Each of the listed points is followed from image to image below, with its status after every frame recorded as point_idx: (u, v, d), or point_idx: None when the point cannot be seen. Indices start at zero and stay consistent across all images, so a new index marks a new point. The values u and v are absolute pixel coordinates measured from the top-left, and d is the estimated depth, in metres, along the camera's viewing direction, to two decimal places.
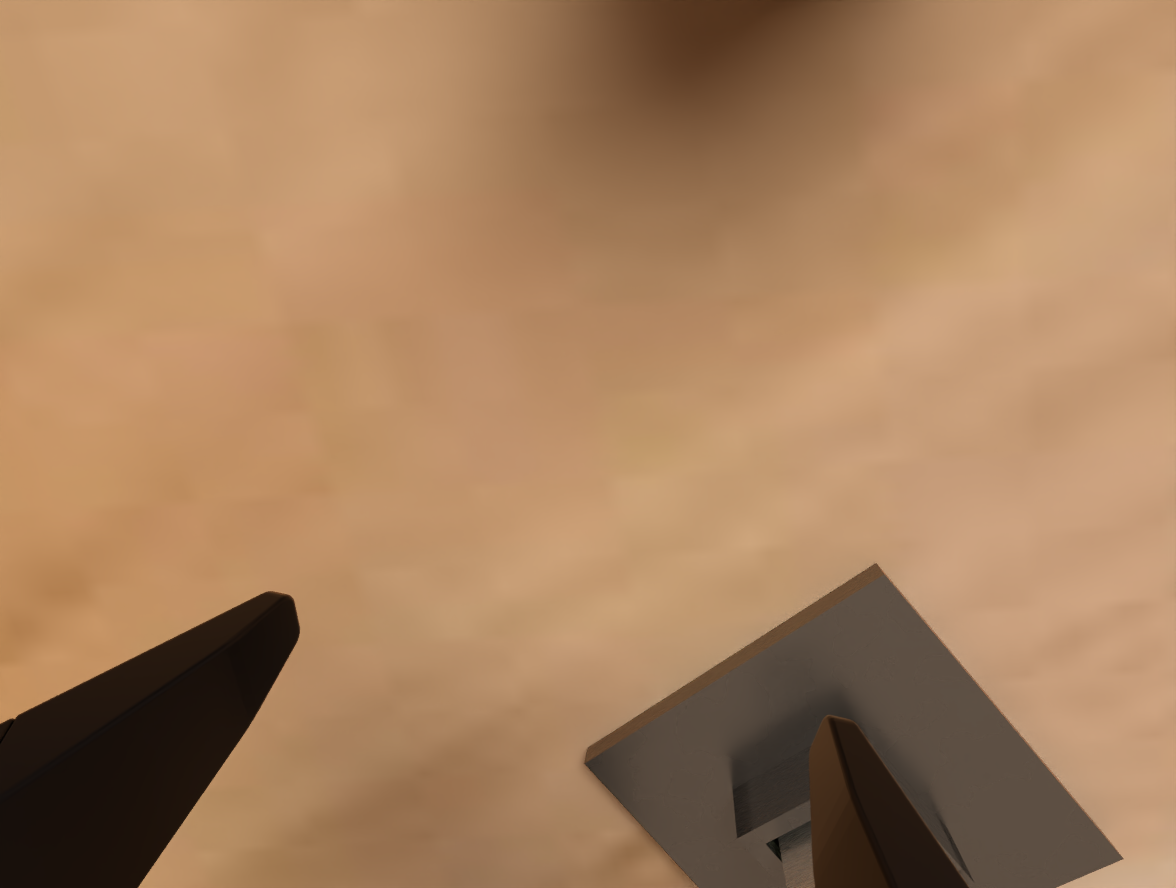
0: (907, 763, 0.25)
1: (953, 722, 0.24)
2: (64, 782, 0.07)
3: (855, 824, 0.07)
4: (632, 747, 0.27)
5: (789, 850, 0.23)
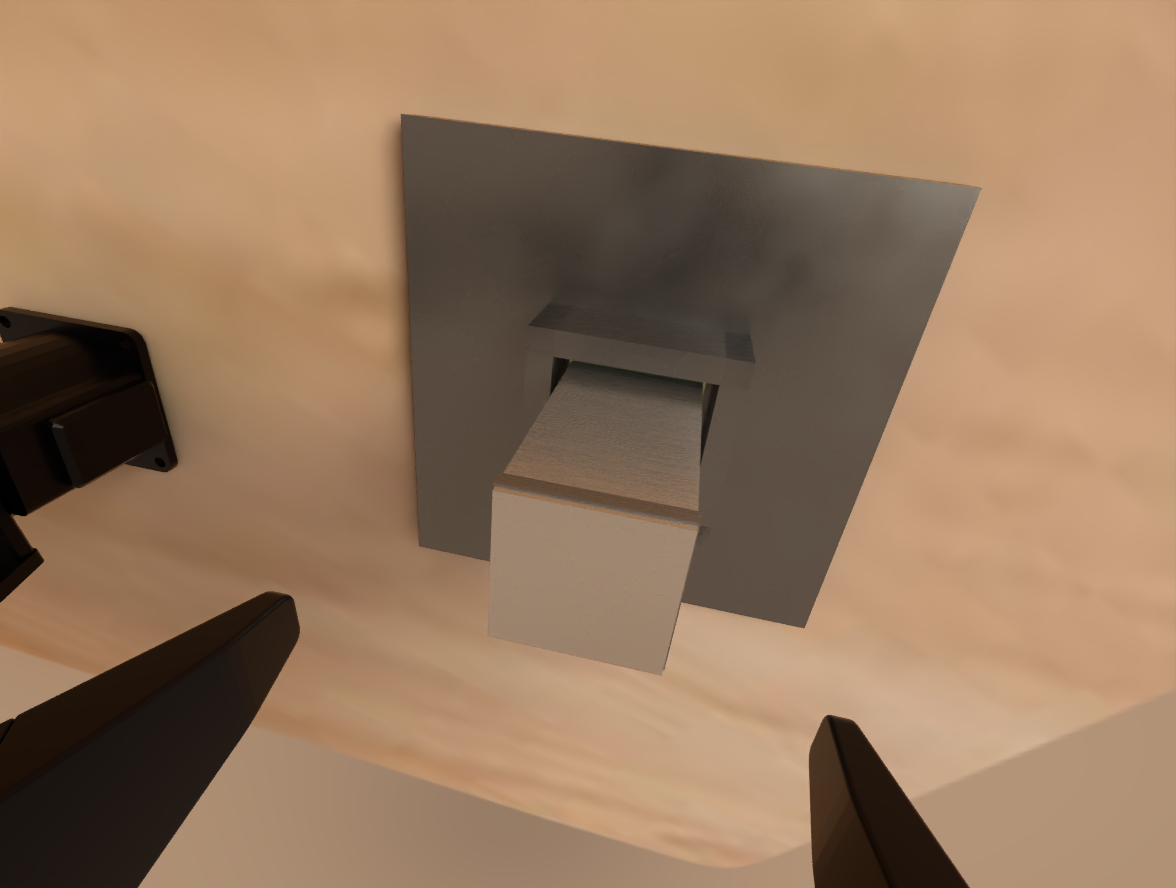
0: (745, 420, 0.19)
1: (831, 416, 0.19)
2: (64, 781, 0.07)
3: (855, 824, 0.07)
4: (482, 146, 0.17)
5: (576, 378, 0.17)
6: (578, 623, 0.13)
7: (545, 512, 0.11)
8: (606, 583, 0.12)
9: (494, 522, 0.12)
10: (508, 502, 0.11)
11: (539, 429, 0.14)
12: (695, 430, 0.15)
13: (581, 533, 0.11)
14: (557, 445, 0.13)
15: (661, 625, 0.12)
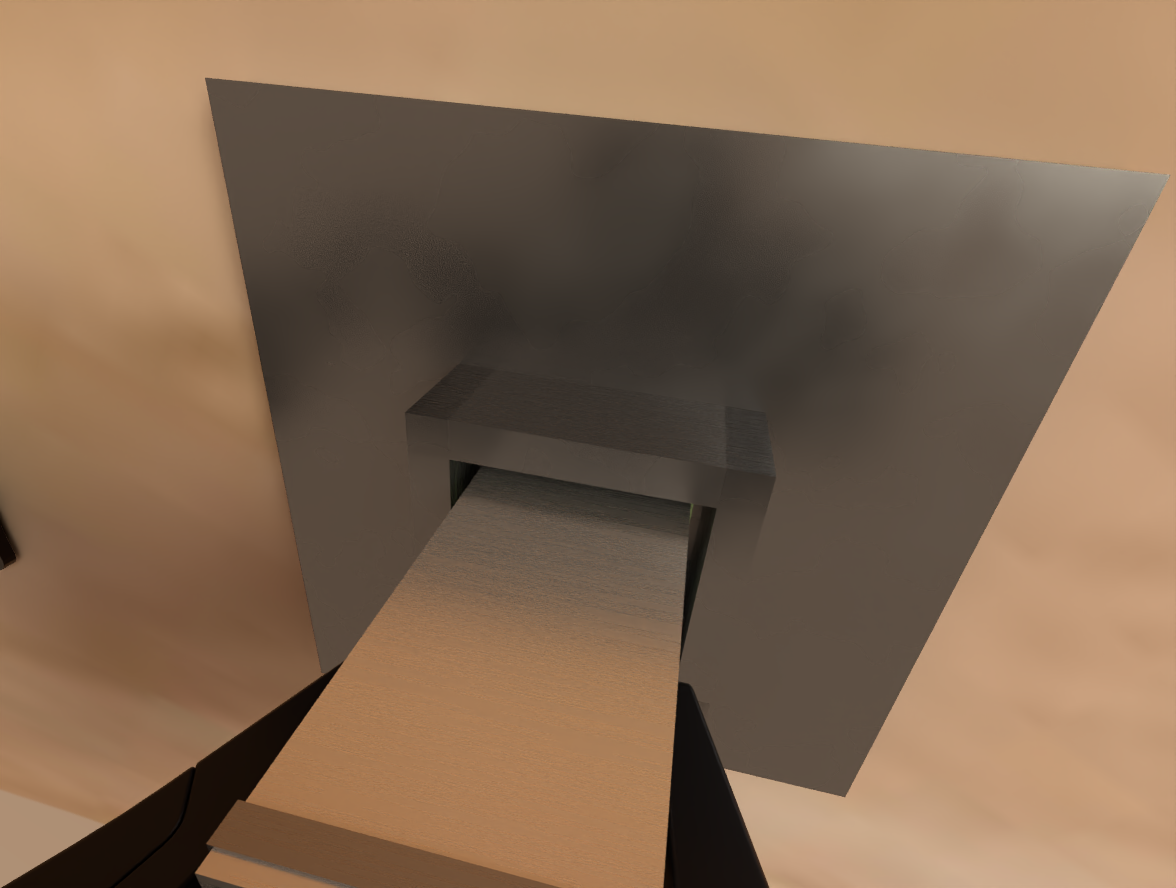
0: None
1: (891, 530, 0.12)
2: None
3: None
4: (333, 125, 0.11)
5: (484, 496, 0.10)
6: None
7: None
8: None
9: None
10: None
11: (378, 636, 0.07)
12: (672, 615, 0.08)
13: None
14: (398, 686, 0.07)
15: None
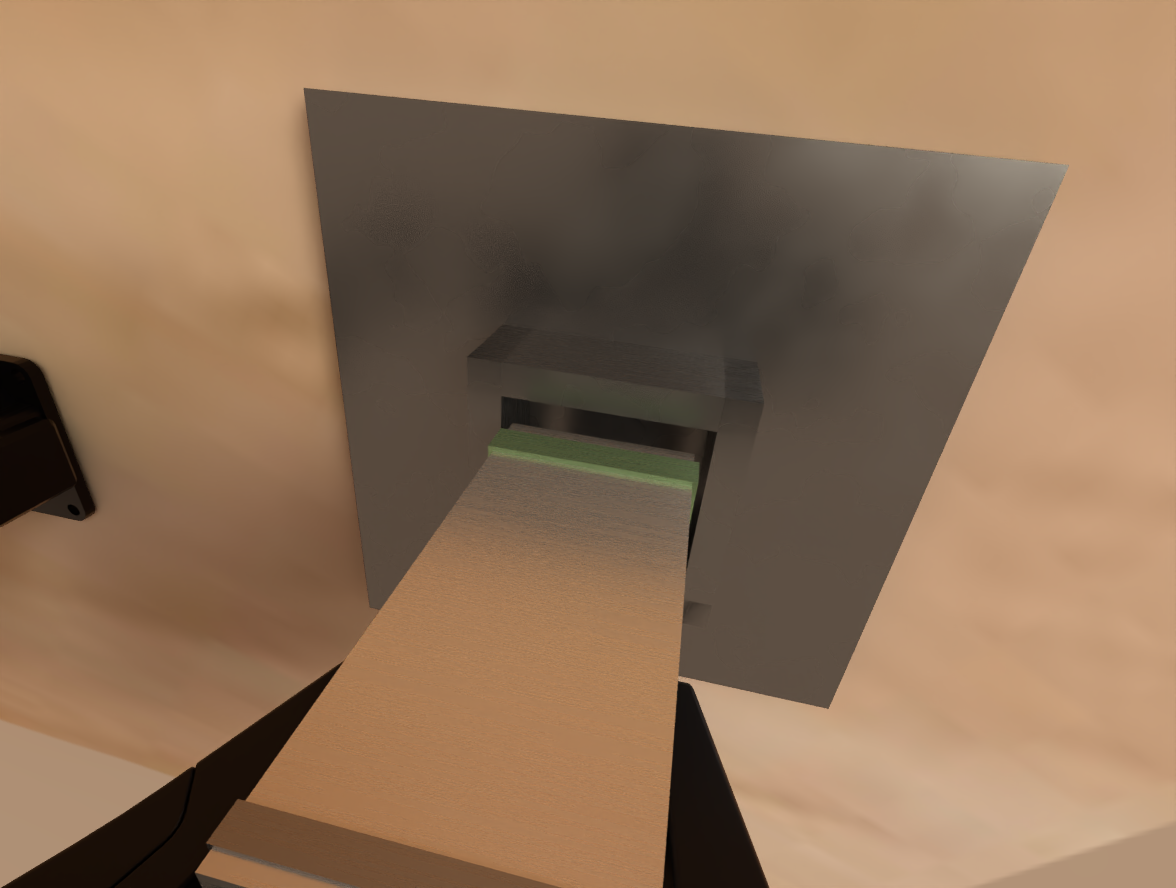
0: (752, 466, 0.15)
1: (861, 462, 0.15)
2: None
3: None
4: (407, 126, 0.13)
5: (485, 496, 0.10)
6: None
7: None
8: None
9: None
10: None
11: (379, 636, 0.07)
12: (672, 616, 0.08)
13: None
14: (398, 687, 0.07)
15: None
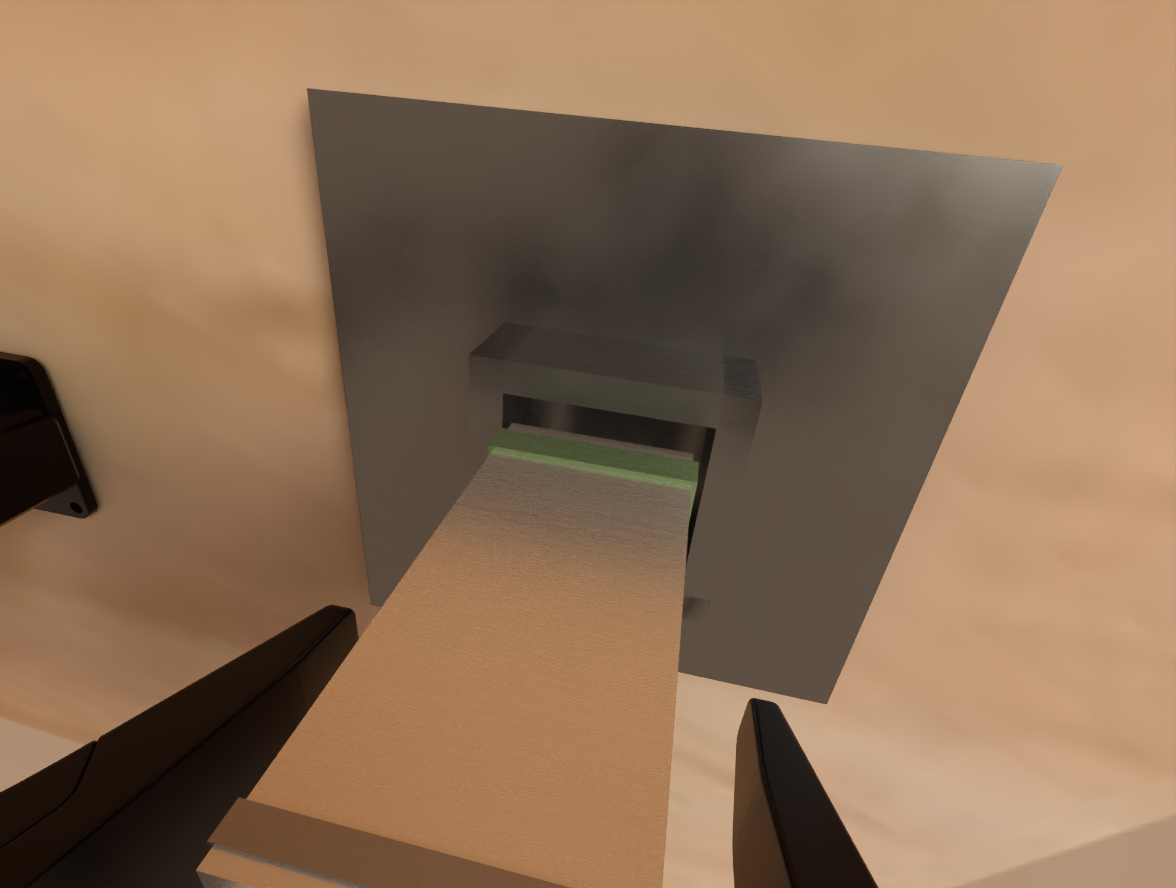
0: (751, 463, 0.16)
1: (859, 459, 0.15)
2: (149, 806, 0.07)
3: (762, 802, 0.07)
4: (409, 126, 0.13)
5: (484, 496, 0.10)
6: None
7: None
8: None
9: None
10: None
11: (379, 635, 0.07)
12: (671, 615, 0.08)
13: None
14: (398, 685, 0.07)
15: None
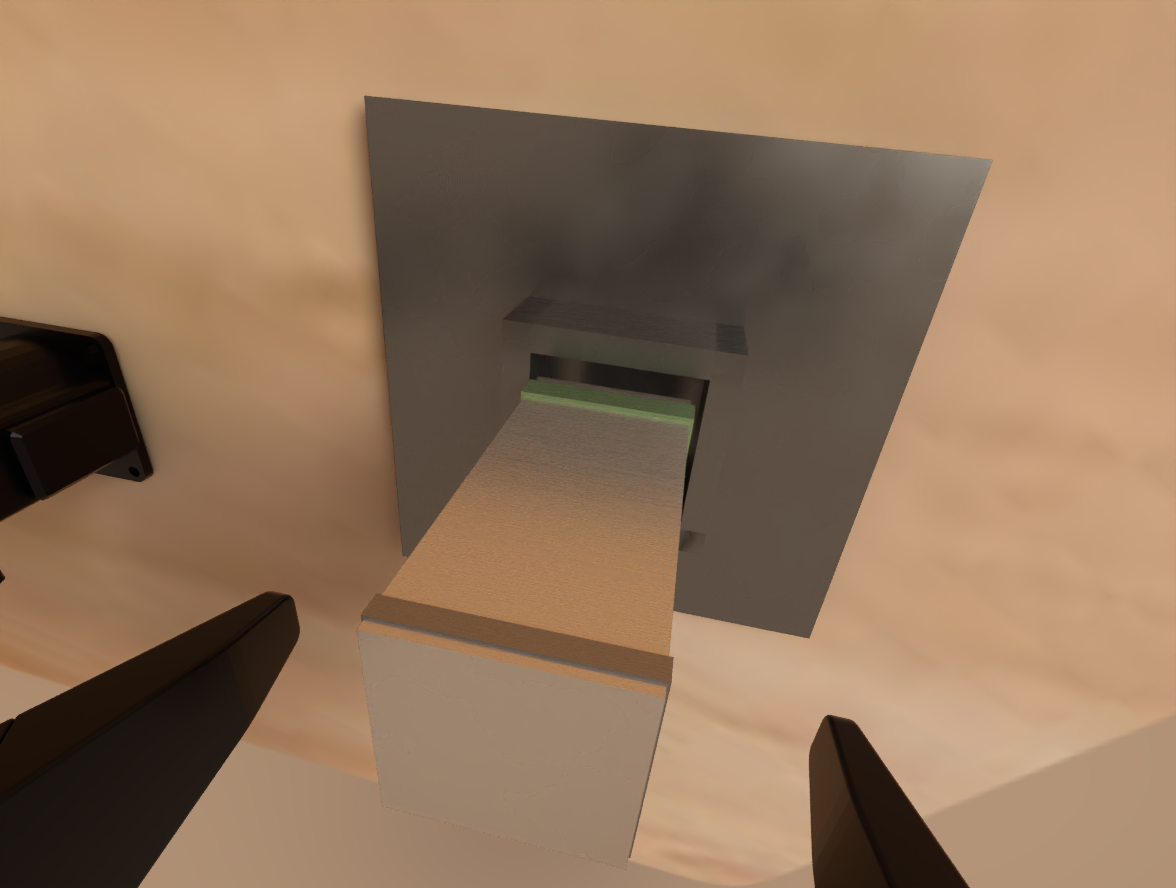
0: (741, 418, 0.18)
1: (833, 412, 0.17)
2: (64, 781, 0.07)
3: (855, 824, 0.07)
4: (451, 128, 0.16)
5: (522, 426, 0.13)
6: (503, 800, 0.09)
7: (437, 661, 0.08)
8: (536, 755, 0.08)
9: (366, 670, 0.08)
10: (382, 645, 0.08)
11: (455, 511, 0.10)
12: (674, 503, 0.11)
13: (492, 691, 0.08)
14: (474, 539, 0.09)
15: (620, 812, 0.08)
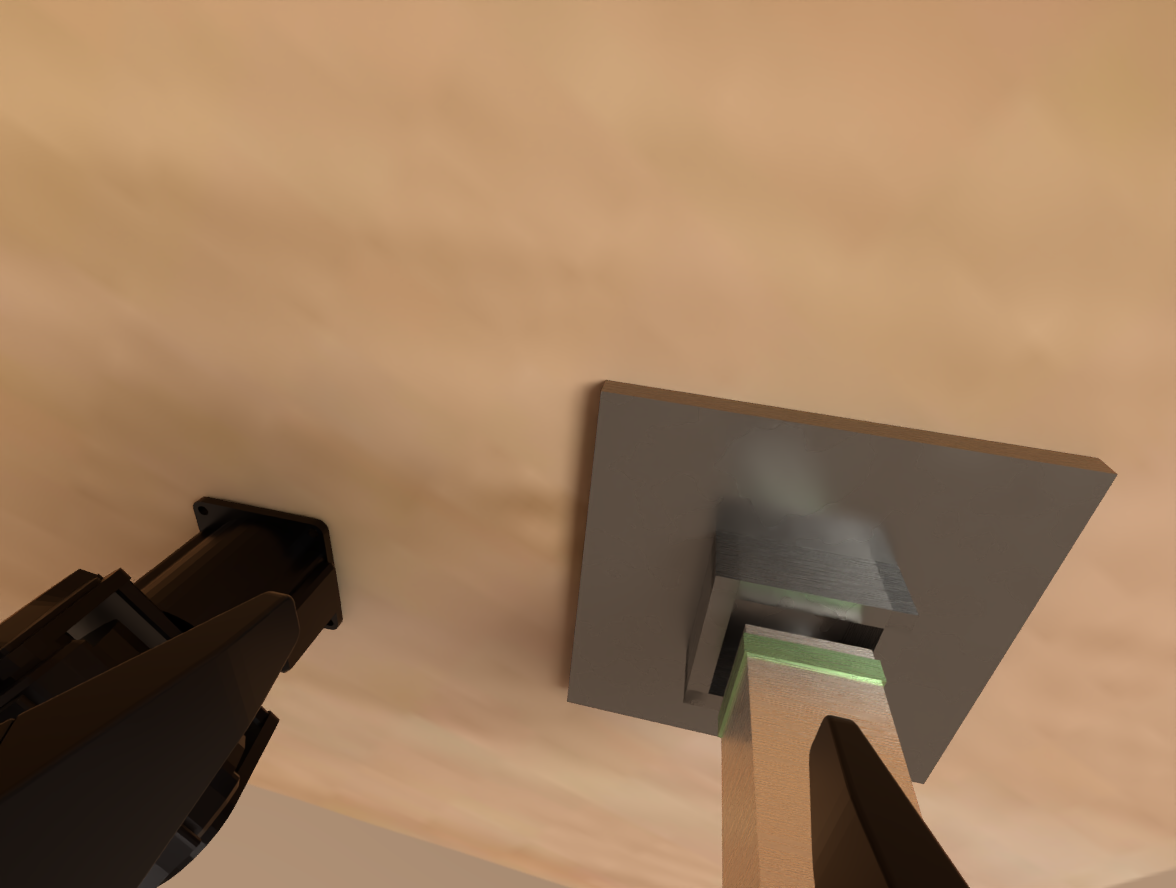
0: None
1: (965, 627, 0.21)
2: (64, 782, 0.07)
3: (855, 824, 0.07)
4: (671, 417, 0.20)
5: (763, 700, 0.17)
6: None
7: None
8: None
9: None
10: None
11: (765, 817, 0.14)
12: (910, 796, 0.15)
13: None
14: (793, 852, 0.13)
15: None
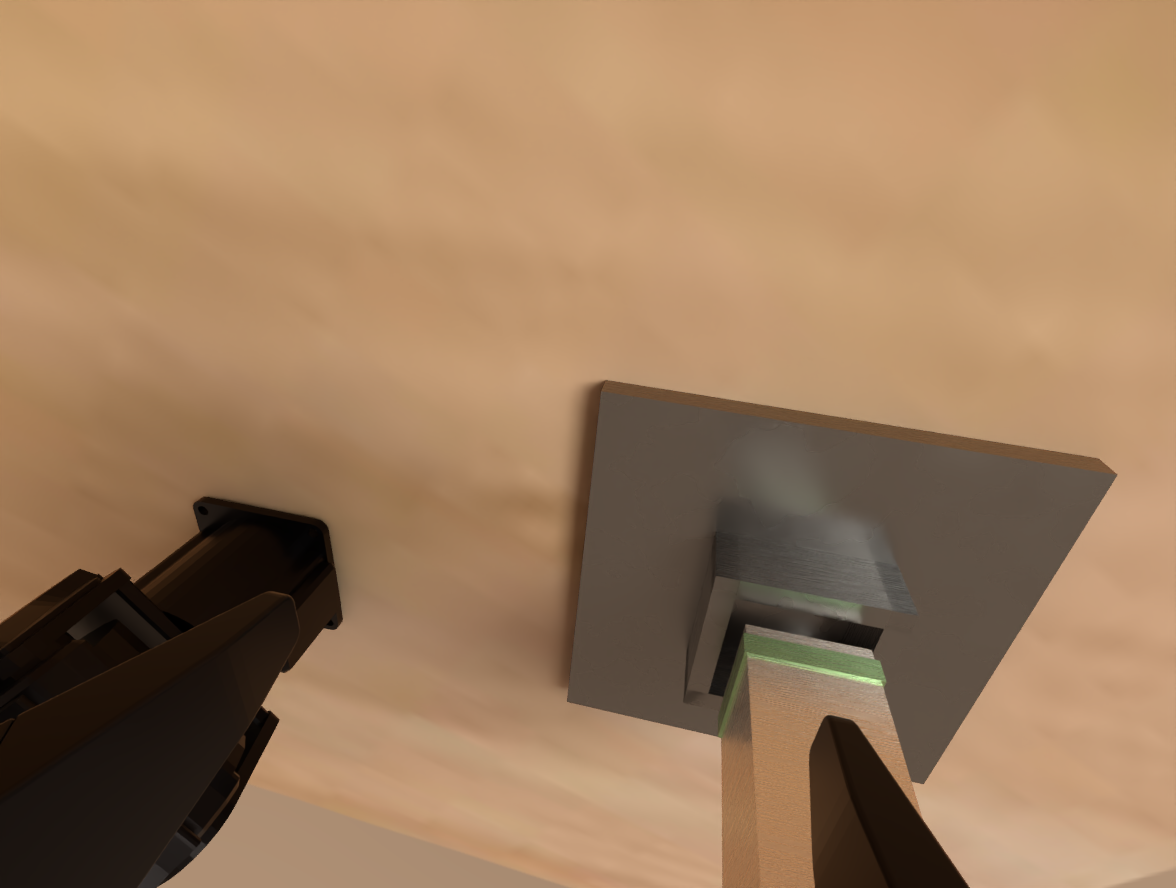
0: None
1: (965, 628, 0.21)
2: (65, 781, 0.07)
3: (855, 824, 0.07)
4: (670, 417, 0.20)
5: (763, 700, 0.17)
6: None
7: None
8: None
9: None
10: None
11: (765, 817, 0.14)
12: (910, 797, 0.15)
13: None
14: (793, 853, 0.13)
15: None
